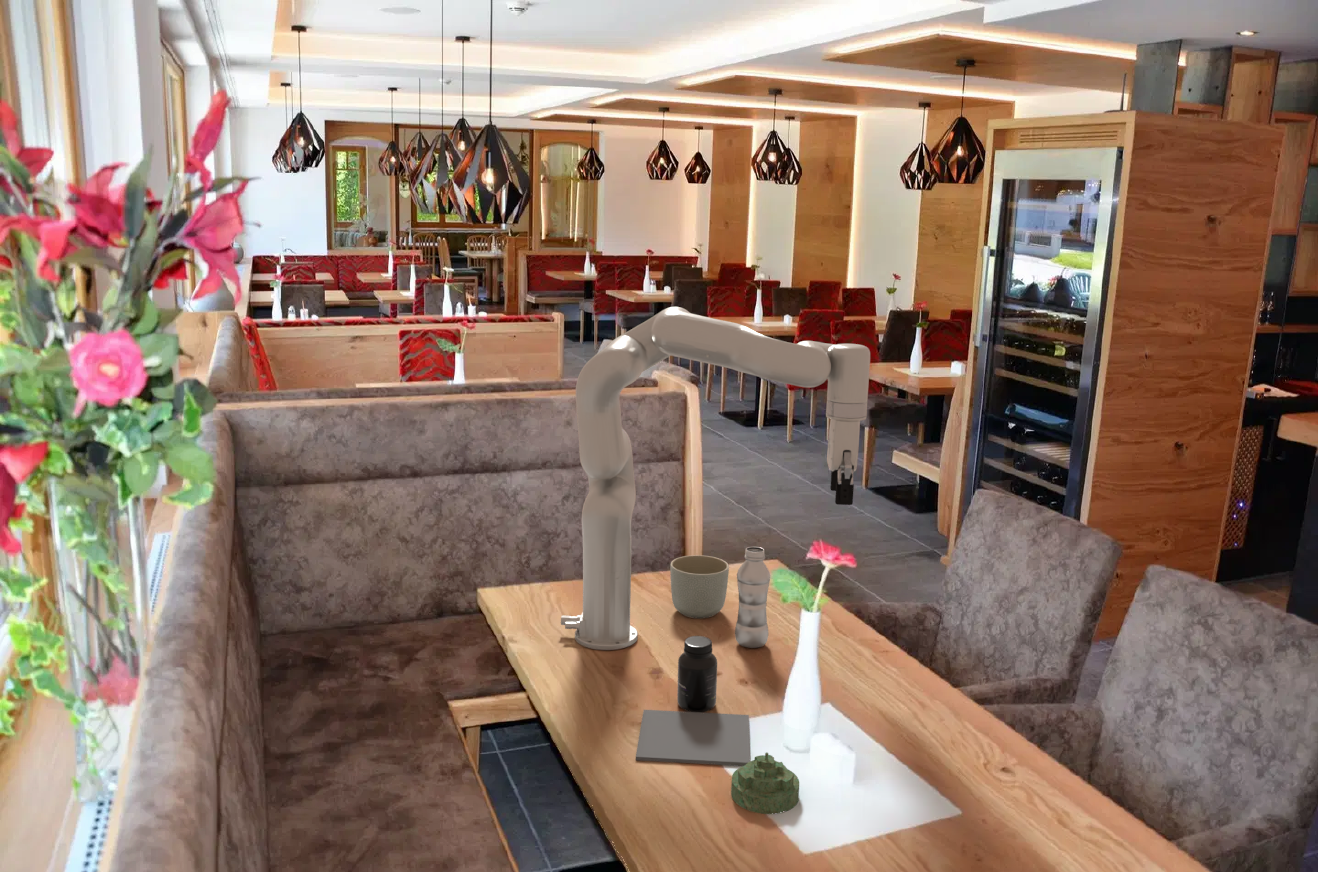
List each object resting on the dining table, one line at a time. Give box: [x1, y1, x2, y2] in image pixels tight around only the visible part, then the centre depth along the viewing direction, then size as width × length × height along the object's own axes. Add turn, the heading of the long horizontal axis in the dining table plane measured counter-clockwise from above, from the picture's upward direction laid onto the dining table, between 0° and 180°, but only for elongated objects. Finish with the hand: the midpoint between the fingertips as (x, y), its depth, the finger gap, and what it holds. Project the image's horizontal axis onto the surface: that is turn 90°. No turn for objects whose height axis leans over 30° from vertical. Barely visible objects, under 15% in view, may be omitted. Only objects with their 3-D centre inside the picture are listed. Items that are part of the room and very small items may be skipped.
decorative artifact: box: [730, 752, 800, 815], centre depth 158 cm, size 10×7×10 cm
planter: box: [669, 554, 730, 619], centre depth 228 cm, size 12×12×11 cm
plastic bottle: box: [734, 546, 771, 649], centre depth 210 cm, size 6×7×20 cm
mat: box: [635, 709, 751, 767], centre depth 175 cm, size 18×16×1 cm
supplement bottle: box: [676, 635, 718, 713], centre depth 185 cm, size 7×7×12 cm
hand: (841, 497), depth 205 cm, fingers open, 9 cm apart
